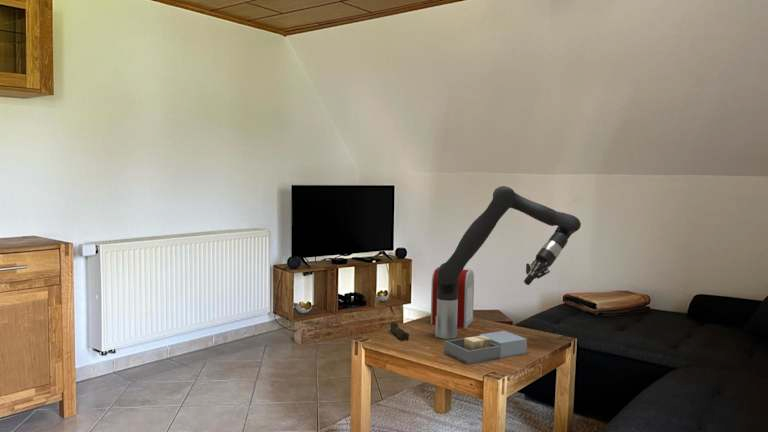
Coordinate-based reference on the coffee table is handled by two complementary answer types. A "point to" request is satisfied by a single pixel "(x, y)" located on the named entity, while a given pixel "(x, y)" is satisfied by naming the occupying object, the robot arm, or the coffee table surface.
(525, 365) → the coffee table surface
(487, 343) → the block
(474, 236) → the robot arm
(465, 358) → the bin
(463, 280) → the red rounded-top case
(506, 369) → the coffee table surface
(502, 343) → the platform
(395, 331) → the hand tool
